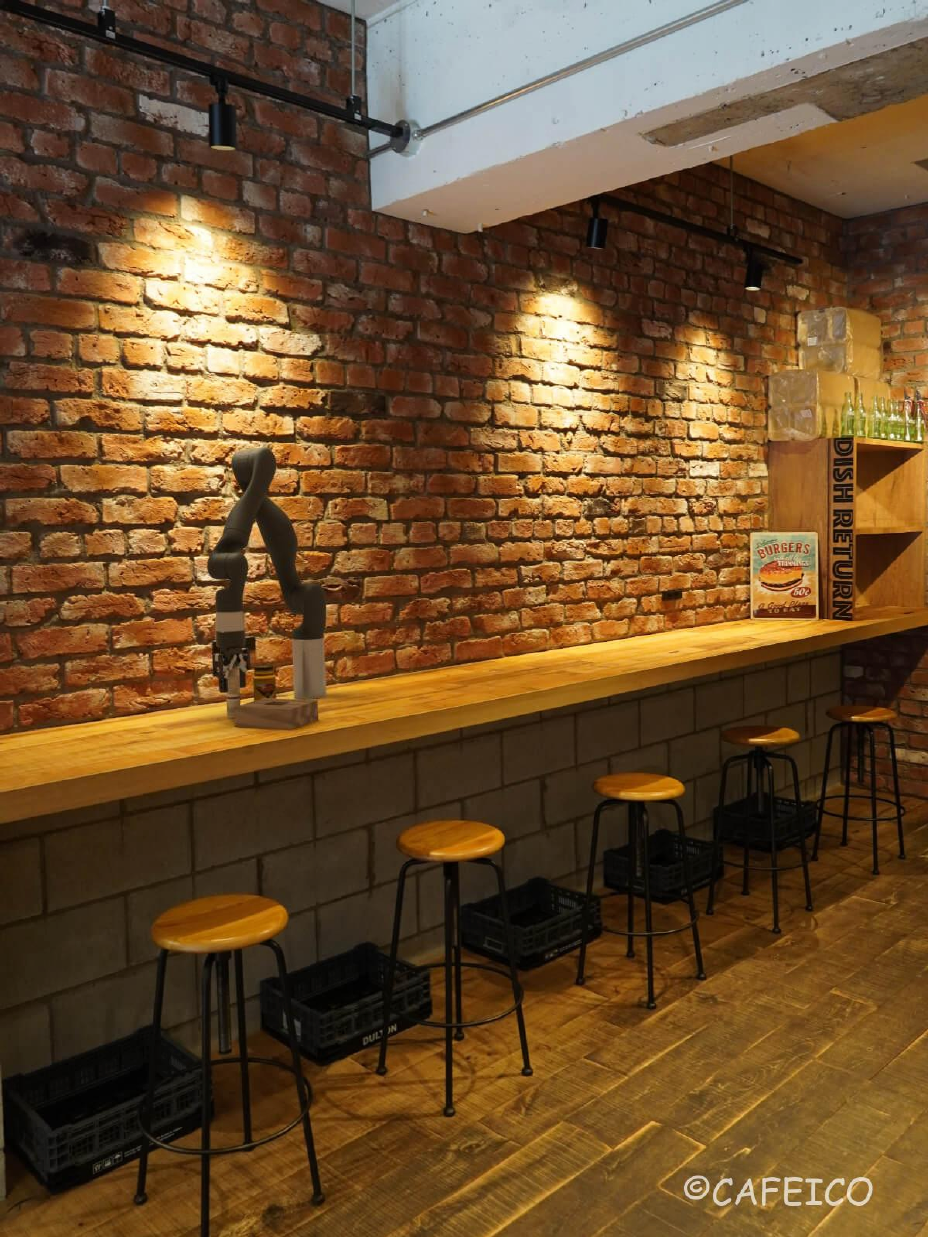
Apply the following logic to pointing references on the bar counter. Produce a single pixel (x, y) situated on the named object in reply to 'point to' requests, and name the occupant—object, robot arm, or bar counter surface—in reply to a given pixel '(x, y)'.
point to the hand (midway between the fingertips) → (232, 690)
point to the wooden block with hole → (276, 713)
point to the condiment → (264, 682)
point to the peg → (233, 691)
